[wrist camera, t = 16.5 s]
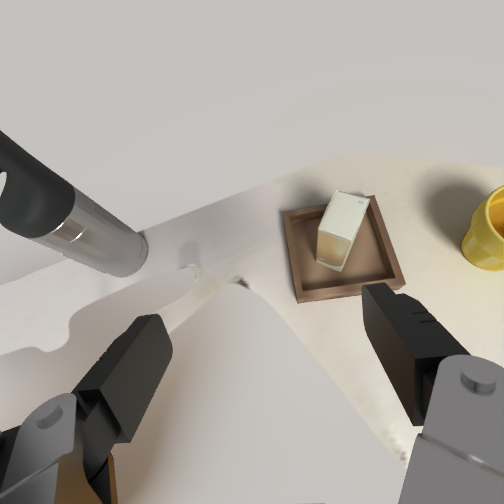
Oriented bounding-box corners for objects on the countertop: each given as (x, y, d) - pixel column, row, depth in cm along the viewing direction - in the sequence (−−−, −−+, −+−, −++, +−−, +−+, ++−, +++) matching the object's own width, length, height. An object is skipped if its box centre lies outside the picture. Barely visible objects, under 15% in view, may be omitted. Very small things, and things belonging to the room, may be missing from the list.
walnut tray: (297, 303, 40) (297, 299, 37) (284, 221, 46) (282, 212, 43) (398, 289, 38) (405, 283, 35) (370, 205, 44) (374, 195, 41)
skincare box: (329, 231, 43) (336, 186, 32) (355, 240, 41) (372, 196, 30) (314, 264, 41) (316, 228, 30) (340, 274, 40) (352, 241, 29)
